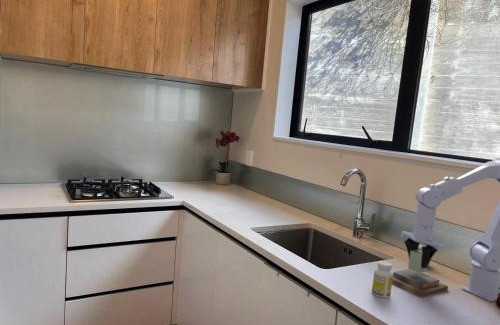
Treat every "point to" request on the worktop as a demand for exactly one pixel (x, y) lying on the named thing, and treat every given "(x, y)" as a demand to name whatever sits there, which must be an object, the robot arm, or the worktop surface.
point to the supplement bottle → (382, 280)
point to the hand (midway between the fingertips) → (417, 264)
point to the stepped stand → (418, 283)
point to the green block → (416, 261)
